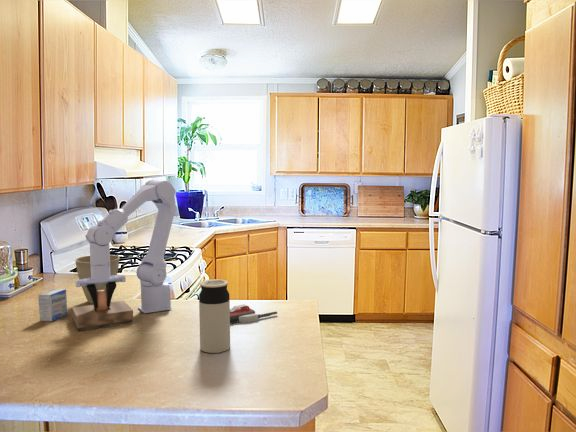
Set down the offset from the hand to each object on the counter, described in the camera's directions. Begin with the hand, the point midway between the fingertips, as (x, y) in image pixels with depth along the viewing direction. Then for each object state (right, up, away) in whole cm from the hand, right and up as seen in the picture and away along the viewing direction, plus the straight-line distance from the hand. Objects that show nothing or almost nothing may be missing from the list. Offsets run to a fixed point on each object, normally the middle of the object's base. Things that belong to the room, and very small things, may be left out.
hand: (102, 306), depth 154 cm
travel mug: (+39, -7, -23) cm, 46 cm away
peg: (0, -2, 0) cm, 2 cm away
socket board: (0, -5, 0) cm, 5 cm away
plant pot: (-10, -3, +24) cm, 26 cm away
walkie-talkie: (+45, -5, +3) cm, 45 cm away
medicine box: (-17, -5, +4) cm, 18 cm away
